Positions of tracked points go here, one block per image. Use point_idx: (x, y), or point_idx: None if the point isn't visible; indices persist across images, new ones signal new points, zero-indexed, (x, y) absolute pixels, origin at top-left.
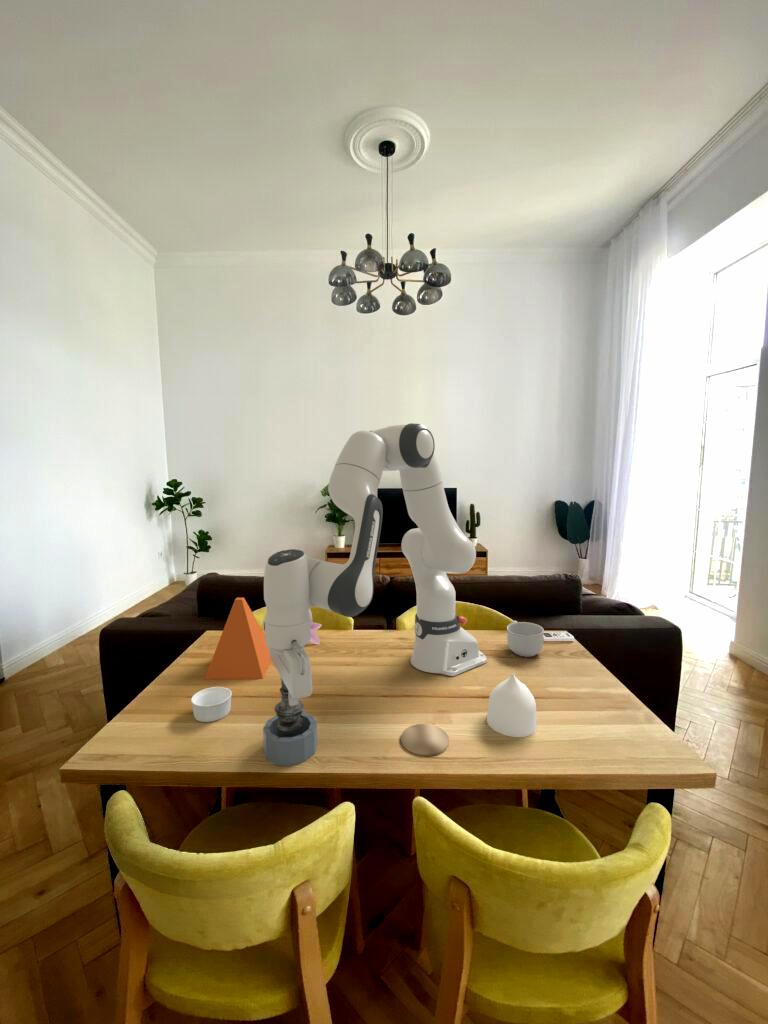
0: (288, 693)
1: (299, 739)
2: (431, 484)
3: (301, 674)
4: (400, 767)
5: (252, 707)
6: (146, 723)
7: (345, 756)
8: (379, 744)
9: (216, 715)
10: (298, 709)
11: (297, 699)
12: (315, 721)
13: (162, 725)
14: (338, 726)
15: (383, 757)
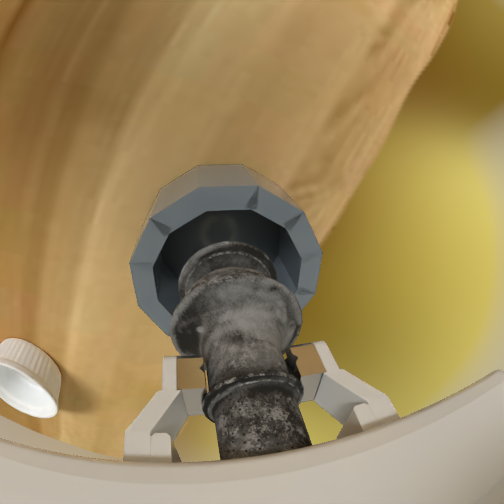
0: (335, 416)
1: (319, 266)
2: None
3: (383, 456)
4: (424, 31)
5: (8, 296)
6: (63, 426)
7: (333, 110)
8: (332, 5)
9: (54, 373)
10: (286, 306)
11: (332, 357)
12: (249, 189)
13: (68, 416)
14: (174, 67)
15: (383, 33)
